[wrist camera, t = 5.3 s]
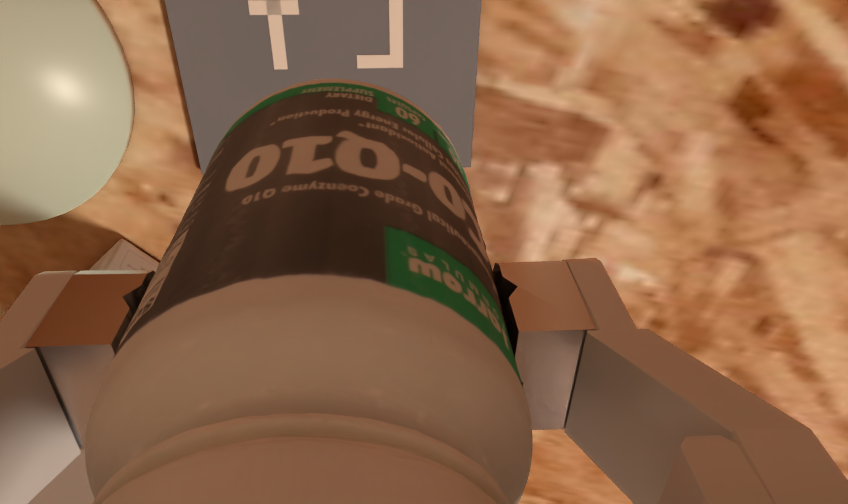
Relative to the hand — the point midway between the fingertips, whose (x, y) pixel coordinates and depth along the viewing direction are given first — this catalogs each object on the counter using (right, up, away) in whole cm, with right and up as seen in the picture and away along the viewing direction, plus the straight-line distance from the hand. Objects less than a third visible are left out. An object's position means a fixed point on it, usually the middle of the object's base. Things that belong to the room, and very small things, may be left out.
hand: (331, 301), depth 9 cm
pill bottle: (0, +2, +3) cm, 3 cm away
